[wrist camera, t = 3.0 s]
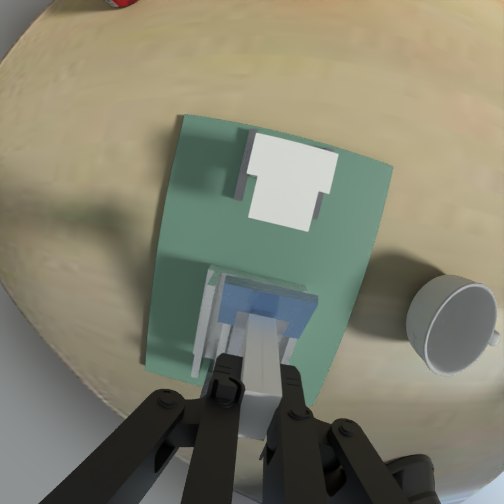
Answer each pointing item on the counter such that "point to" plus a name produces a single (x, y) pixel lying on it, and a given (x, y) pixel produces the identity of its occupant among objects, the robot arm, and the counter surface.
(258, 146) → the block
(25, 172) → the counter surface
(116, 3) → the soda can
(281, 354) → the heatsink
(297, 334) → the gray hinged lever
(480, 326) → the teacup
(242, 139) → the green base board
